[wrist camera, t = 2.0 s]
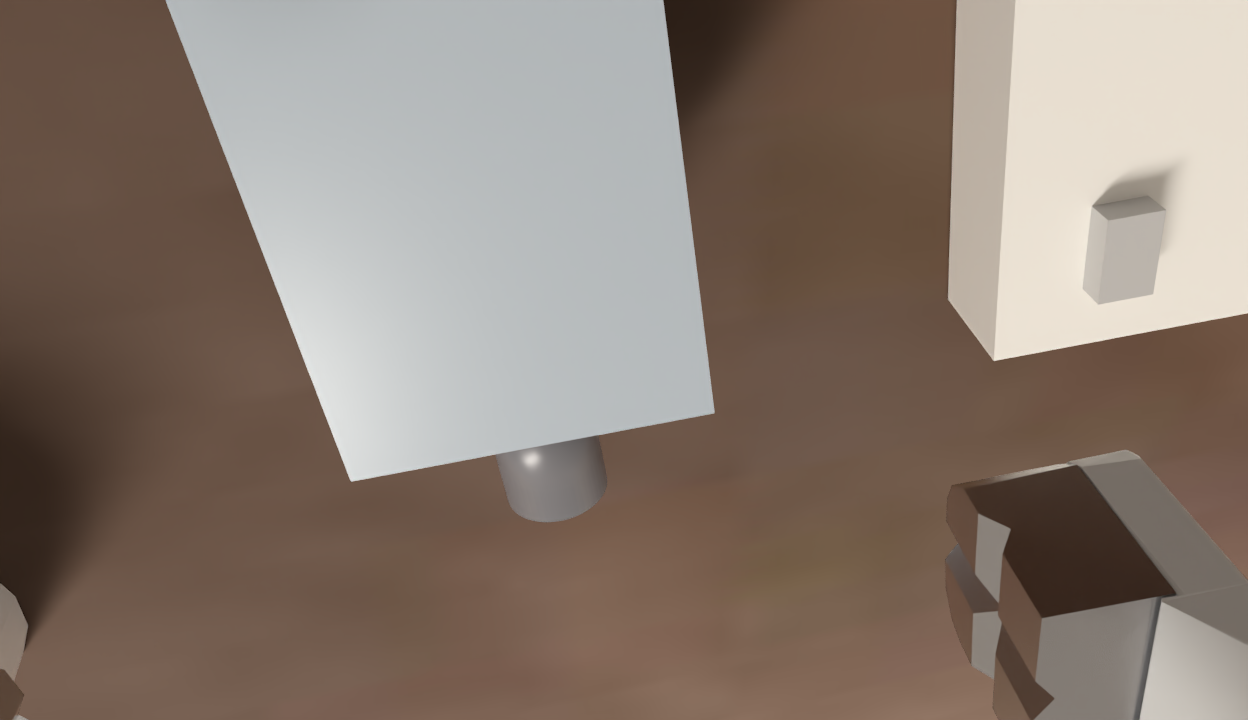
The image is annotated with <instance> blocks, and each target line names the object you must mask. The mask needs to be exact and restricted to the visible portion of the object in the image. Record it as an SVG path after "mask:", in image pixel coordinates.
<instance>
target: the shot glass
mask: <svg viewBox="0 0 1248 720" xmlns="http://www.w3.org/2000/svg"><path fill="white" fill-rule="evenodd" d="M27 629H28V624H27V622H26V620H25V617H24V615H23V613H22V610H21V608H20V606H19V604H18V601H17V599H16V597H15V596H14V595H13V594H12V593H11V592H10V591H9V590H8V589H6V588H5V587H4V586H3V585H2V584H1V583H0V669H4V670H5V671H6V672H7V673H8V675H9V676H10V677H11V679H12V680H13V681H14V679H15V676H16V673H17V670H18V667H19V664H20V661H21V658H22V655H23V652H24V646H25V641H26V635H27Z"/></svg>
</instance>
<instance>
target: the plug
mask: <svg viewBox="0 0 1248 720" xmlns="http://www.w3.org/2000/svg"><path fill="white" fill-rule="evenodd" d="M166 3H167V5H168V8H169V10H170V13H171V16H172V18H173V21H174V23H175V26H176V29H177V31H178V34H179V36H180V39H181V42H182V44H183V47H184V49H185V52H186V55H187V57H188V60H189V62H190V65H191V68H192V70H193V73H194V75H195V78H196V81H197V83H198V86H199V88H200V91H201V94H202V96H203V99H204V101H205V104H206V107H207V109H208V112H209V114H210V117H211V120H212V122H213V125H214V127H215V130H216V133H217V135H218V138H219V140H220V143H221V145H222V148H223V151H224V153H225V156H226V158H227V161H228V164H229V166H230V169H231V171H232V174H233V177H234V179H235V182H236V184H237V187H238V190H239V192H240V195H241V197H242V200H243V203H244V205H245V208H246V210H247V213H248V216H249V218H250V221H251V223H252V226H253V229H254V231H255V234H256V236H257V239H258V242H259V244H260V247H261V249H262V252H263V255H264V257H265V260H266V262H267V265H268V268H269V270H270V273H271V275H272V278H273V281H274V283H275V286H276V288H277V291H278V294H279V296H280V299H281V301H282V304H283V307H284V309H285V312H286V314H287V317H288V320H289V322H290V325H291V327H292V330H293V333H294V335H295V338H296V340H297V343H298V345H299V348H300V351H301V353H302V356H303V358H304V361H305V364H306V366H307V369H308V371H309V374H310V377H311V379H312V382H313V384H314V387H315V390H316V392H317V395H318V397H319V400H320V403H321V405H322V408H323V410H324V413H325V416H326V418H327V421H328V423H329V426H330V429H331V431H332V434H333V436H334V439H335V442H336V444H337V447H338V449H339V452H340V455H341V457H342V460H343V462H344V465H345V468H346V470H347V473H348V475H349V478H350V481H351V482H352V481H357V480H362V479H368V478H373V477H378V476H384V475H389V474H394V473H399V472H405V471H410V470H415V469H421V468H426V467H431V466H437V465H442V464H447V463H453V462H458V461H463V460H468V459H474V458H479V457H484V456H490V455H496V459H497V462H498V466H499V469H500V473H501V476H502V480H503V484H504V487H505V491H506V494H507V498H508V501H509V504H510V506H511V508H512V509H513V510H514V511H515V512H516V513H517V514H518V515H520V516H522V517H524V518H526V519H529V520H533V521H538V522H556V521H562V520H566V519H569V518H572V517H575V516H577V515H580V514H582V513H583V512H585V511H587V510H588V509H590V508H591V507H592V506H594V505H595V504H596V503H597V502H598V501H599V500H600V498H601V497H602V496H603V494H604V492H605V490H606V487H607V475H606V470H605V465H604V460H603V456H602V451H601V446H600V441H599V436H598V435H601V434H607V433H612V432H617V431H622V430H628V429H633V428H638V427H644V426H649V425H654V424H660V423H665V422H670V421H676V420H681V419H686V418H692V417H697V416H702V415H707V414H713V413H714V404H713V396H712V388H711V380H710V372H709V364H708V356H707V348H706V340H705V332H704V324H703V316H702V308H701V300H700V292H699V284H698V276H697V268H696V259H695V251H694V243H693V235H692V227H691V219H690V211H689V203H688V195H687V187H686V179H685V171H684V163H683V155H682V147H681V139H680V131H679V122H678V114H677V106H676V98H675V90H674V82H673V74H672V66H671V58H670V50H669V42H668V34H667V26H666V18H665V10H664V2H663V0H166Z"/></svg>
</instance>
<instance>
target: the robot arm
mask: <svg viewBox="0 0 1248 720" xmlns="http://www.w3.org/2000/svg"><path fill="white" fill-rule="evenodd" d="M946 522H947V523H948V525H949V527H950V529H951V531H952V533H953V535H954V536H955V538H956V540H957V542H958V544H957V545H956V546H955V548H954V549H953V550H952V551H951V553H950V554H949V555H948V556H947V558H946V559H945V581H946V592H947V598H948V603H949V608H950V613H951V618H952V621H953V624H954V627H955V629H956V632H957V635H958V638H959V641H960V643H961V645H962V647H963V649H964V651H965V653H966V655H967V657H968V660H969V662H970V664H971V666H973V667H975V668H976V669H978V670H979V671H981V672H983V673H984V674H986V675H988V676H989V677H991V678H992V679H994V690H993V710H994V712H995V714H996V716H997V718H998V720H1248V580H1247V579H1246V578H1245V576H1244V575H1243V574H1242V573H1241V572H1240V571H1239V570H1238V568H1237V567H1236V566H1235V565H1234V564H1233V563H1232V562H1231V560H1230V559H1229V558H1228V557H1227V556H1226V555H1225V554H1224V552H1223V551H1222V550H1221V549H1220V548H1219V547H1218V546H1217V544H1216V543H1215V542H1214V541H1213V540H1212V539H1211V538H1210V537H1209V535H1208V534H1207V533H1206V532H1205V531H1204V530H1203V529H1202V527H1201V526H1200V525H1199V524H1198V523H1197V522H1196V521H1195V519H1194V518H1193V517H1192V516H1191V515H1190V514H1189V513H1188V511H1187V510H1186V509H1185V508H1184V507H1183V506H1182V505H1181V503H1180V502H1179V501H1178V500H1177V499H1176V498H1175V497H1174V495H1173V494H1172V493H1171V492H1170V491H1169V490H1168V489H1167V487H1166V486H1165V485H1164V484H1163V483H1162V482H1161V481H1160V479H1159V478H1158V477H1157V476H1156V475H1155V474H1154V473H1153V471H1152V470H1151V469H1150V468H1149V467H1148V466H1147V465H1146V463H1145V462H1144V461H1143V460H1142V459H1141V458H1140V457H1139V456H1138V455H1136V454H1134V453H1132V452H1130V451H1128V450H1123V451H1118V452H1113V453H1108V454H1103V455H1098V456H1094V457H1089V458H1084V459H1079V460H1074V461H1069V462H1068V463H1066V464H1057V465H1052V466H1047V467H1042V468H1037V469H1032V470H1027V471H1022V472H1017V473H1011V474H1006V475H1001V476H996V477H991V478H986V479H981V480H976V481H971V482H966V483H961V484H956V485H952V486H951V489H950V491H949V494H948V497H947V511H946ZM23 697H24V694H23V693H22V691H21V690H20V689H19V687H18V686H17V685H16V684H15V682H14V681H13V680H12V679H11V677H10V676H9V675H8V673H7V672H6V671H5V670H4V669H0V720H28V719H26V718H24V717H21V716H19V715H18V714H19V711H20V707H21V704H22V701H23Z"/></svg>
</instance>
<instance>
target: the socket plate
mask: <svg viewBox="0 0 1248 720" xmlns="http://www.w3.org/2000/svg"><path fill="white" fill-rule="evenodd" d="M948 300H949V301H950V303H951V304H952V305H953V307H954V308H955V309H956V311H957V312H958V313H959V315H960V316H961V317H962V319H963V320H964V322H965V323H966V324H967V326H968V327H969V328H970V330H971V331H972V332H973V334H974V335H975V336H976V338H977V339H978V340H979V342H980V343H981V344H982V346H983V347H984V348H985V350H986V351H987V352H988V354H989V355H990V356H991V358H992V359H993V361H996V360H1001V359H1007V358H1012V357H1017V356H1023V355H1028V354H1033V353H1038V352H1044V351H1049V350H1054V349H1060V348H1065V347H1070V346H1076V345H1081V344H1086V343H1092V342H1097V341H1102V340H1107V339H1113V338H1118V337H1123V336H1129V335H1134V334H1139V333H1145V332H1150V331H1155V330H1161V329H1166V328H1171V327H1177V326H1182V325H1187V324H1192V323H1198V322H1203V321H1208V320H1214V319H1219V318H1224V317H1230V316H1235V315H1240V314H1246V313H1248V0H957V13H956V47H955V81H954V114H953V148H952V182H951V215H950V249H949V283H948Z"/></svg>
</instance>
